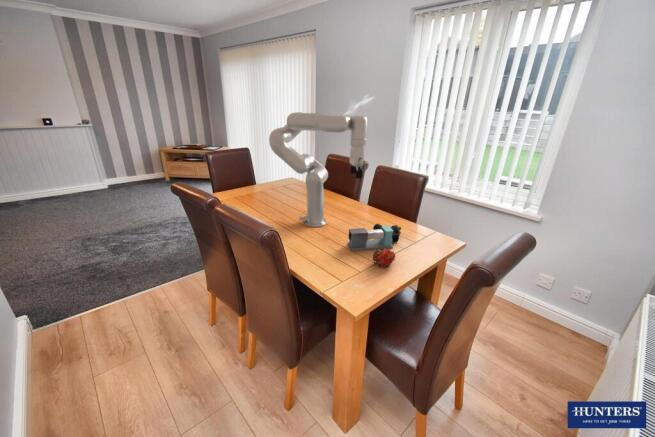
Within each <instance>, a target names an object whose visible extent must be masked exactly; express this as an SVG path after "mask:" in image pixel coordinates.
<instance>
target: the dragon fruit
mask: <svg viewBox="0 0 655 437" xmlns="http://www.w3.org/2000/svg"><path fill="white" fill-rule="evenodd" d="M395 258H396V253H394V251H392V250H391V249H384V248H381V250H379V249H377V250H374V252H373V254H372V261H373V263H374V265H378V266H379V267H380V266H382V267H384V268H387V266H391V264H392V263H393V262H394V261H395V260H396V259H395Z"/></svg>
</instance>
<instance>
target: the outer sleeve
mask: <svg viewBox="0 0 655 437" xmlns="http://www.w3.org/2000/svg"><path fill="white" fill-rule="evenodd" d="M348 240H349V241H348V242H349V244H350V246H351V247H352V248H362V247H366V242H367V240H368V232H367V229H366V228H365V227H358V228H349V229H348Z"/></svg>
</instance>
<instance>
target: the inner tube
mask: <svg viewBox="0 0 655 437" xmlns="http://www.w3.org/2000/svg"><path fill="white" fill-rule="evenodd" d="M366 230H367V229H366ZM367 232H368V240H378V239H382V238H385V231H384V230H383V229H377V230H373V229H368V230H367Z"/></svg>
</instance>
